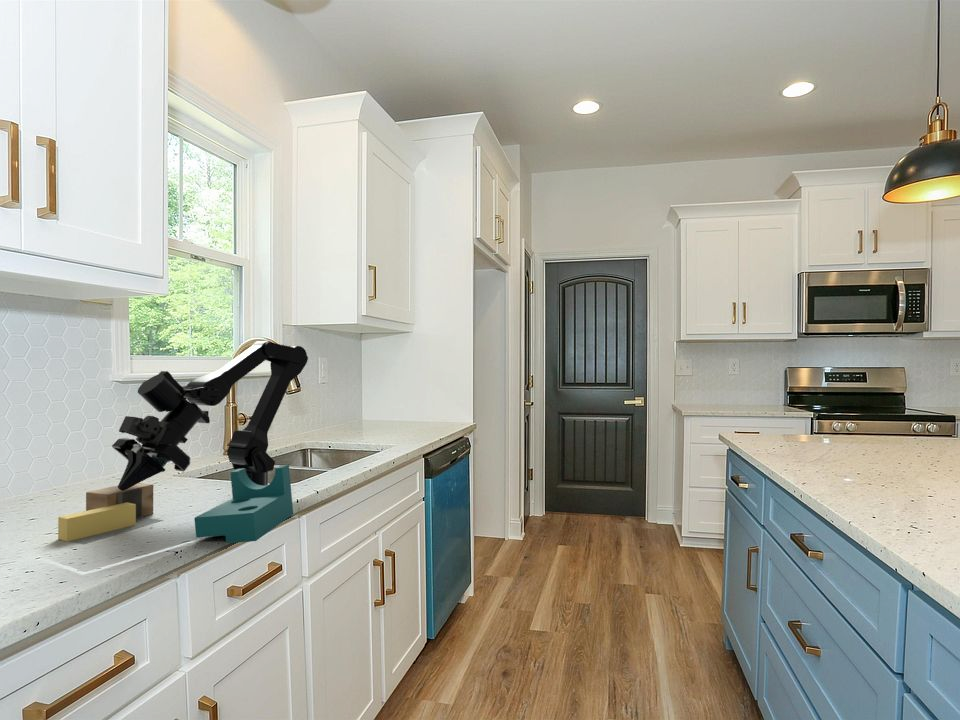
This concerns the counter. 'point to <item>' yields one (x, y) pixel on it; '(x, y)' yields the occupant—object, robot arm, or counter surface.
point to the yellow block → (96, 521)
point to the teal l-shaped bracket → (249, 508)
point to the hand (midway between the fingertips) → (120, 489)
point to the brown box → (123, 498)
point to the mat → (116, 531)
